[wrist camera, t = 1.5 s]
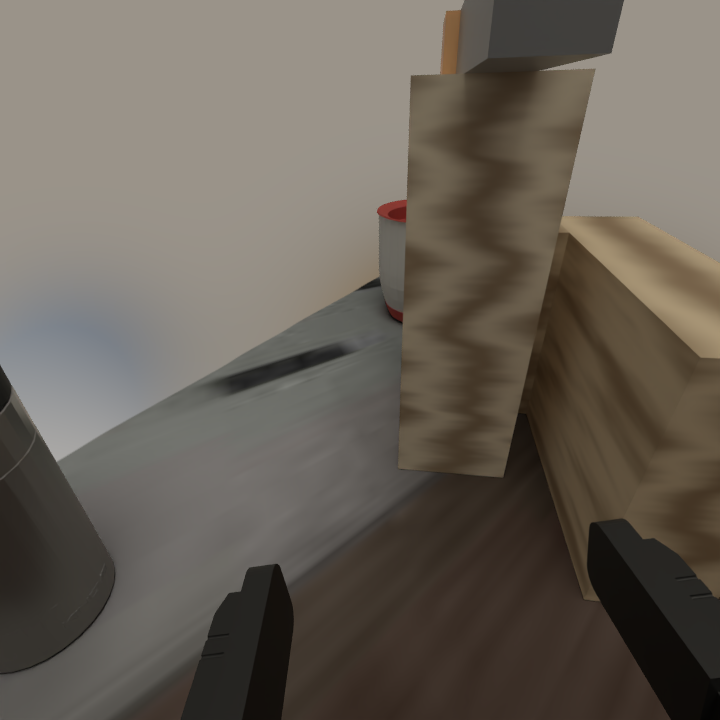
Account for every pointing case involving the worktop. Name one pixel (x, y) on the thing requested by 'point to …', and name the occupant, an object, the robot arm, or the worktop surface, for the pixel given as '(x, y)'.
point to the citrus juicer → (392, 254)
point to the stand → (554, 321)
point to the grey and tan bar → (526, 34)
